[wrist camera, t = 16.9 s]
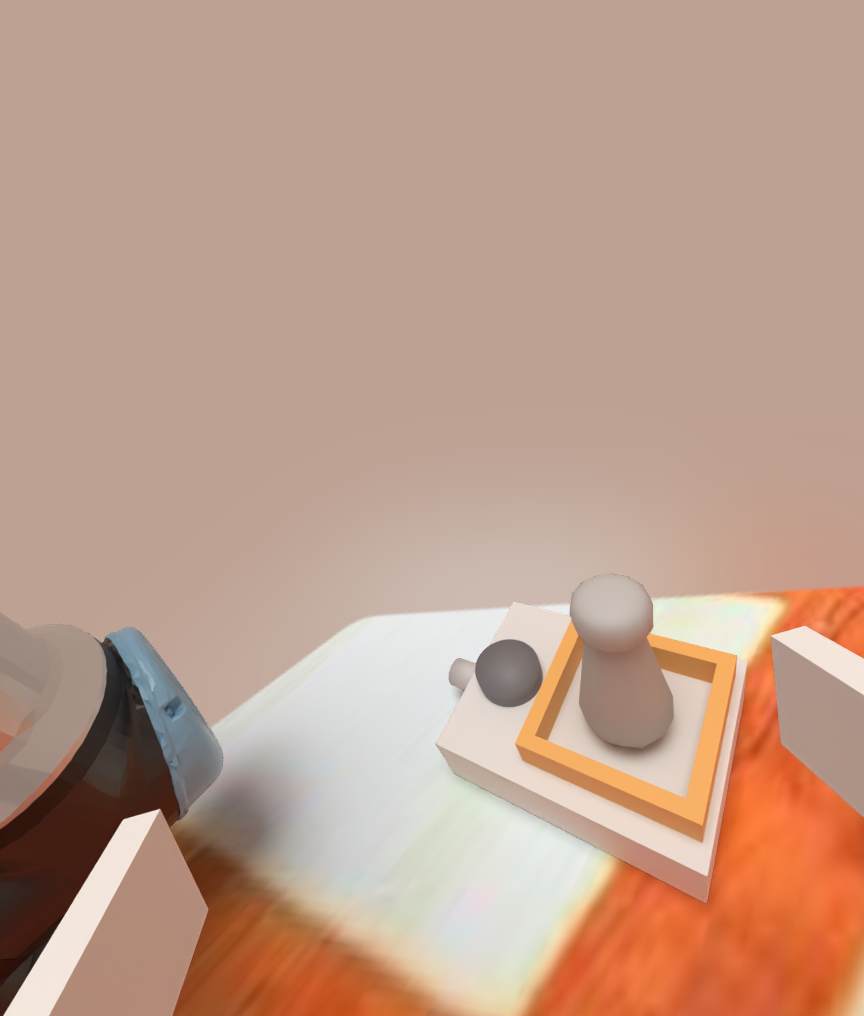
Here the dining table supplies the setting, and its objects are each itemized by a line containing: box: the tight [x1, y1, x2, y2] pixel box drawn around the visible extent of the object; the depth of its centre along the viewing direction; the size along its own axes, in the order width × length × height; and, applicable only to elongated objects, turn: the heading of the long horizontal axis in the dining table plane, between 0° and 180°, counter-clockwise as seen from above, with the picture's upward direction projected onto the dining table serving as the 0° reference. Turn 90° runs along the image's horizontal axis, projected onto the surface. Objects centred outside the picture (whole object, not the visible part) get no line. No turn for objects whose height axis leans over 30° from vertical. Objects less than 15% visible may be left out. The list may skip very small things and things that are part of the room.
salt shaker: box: [570, 574, 674, 749], centre depth 30 cm, size 6×6×13 cm
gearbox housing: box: [435, 602, 748, 904], centre depth 38 cm, size 21×14×8 cm, turn 58°
